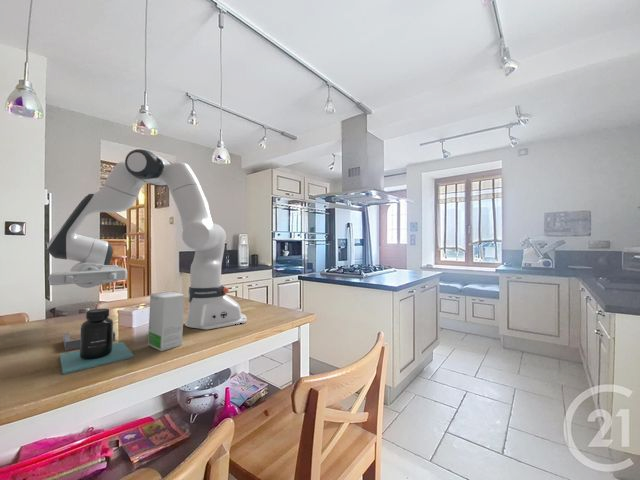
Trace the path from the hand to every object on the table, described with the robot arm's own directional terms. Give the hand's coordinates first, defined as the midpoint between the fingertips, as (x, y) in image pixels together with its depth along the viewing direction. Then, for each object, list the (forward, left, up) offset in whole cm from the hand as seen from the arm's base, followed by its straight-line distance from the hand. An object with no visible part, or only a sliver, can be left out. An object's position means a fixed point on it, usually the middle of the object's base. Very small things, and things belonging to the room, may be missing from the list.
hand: (93, 278), depth 89 cm
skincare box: (-22, +17, -19) cm, 34 cm away
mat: (-6, +19, -19) cm, 28 cm away
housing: (0, +3, -19) cm, 19 cm away
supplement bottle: (-6, +19, -19) cm, 27 cm away
